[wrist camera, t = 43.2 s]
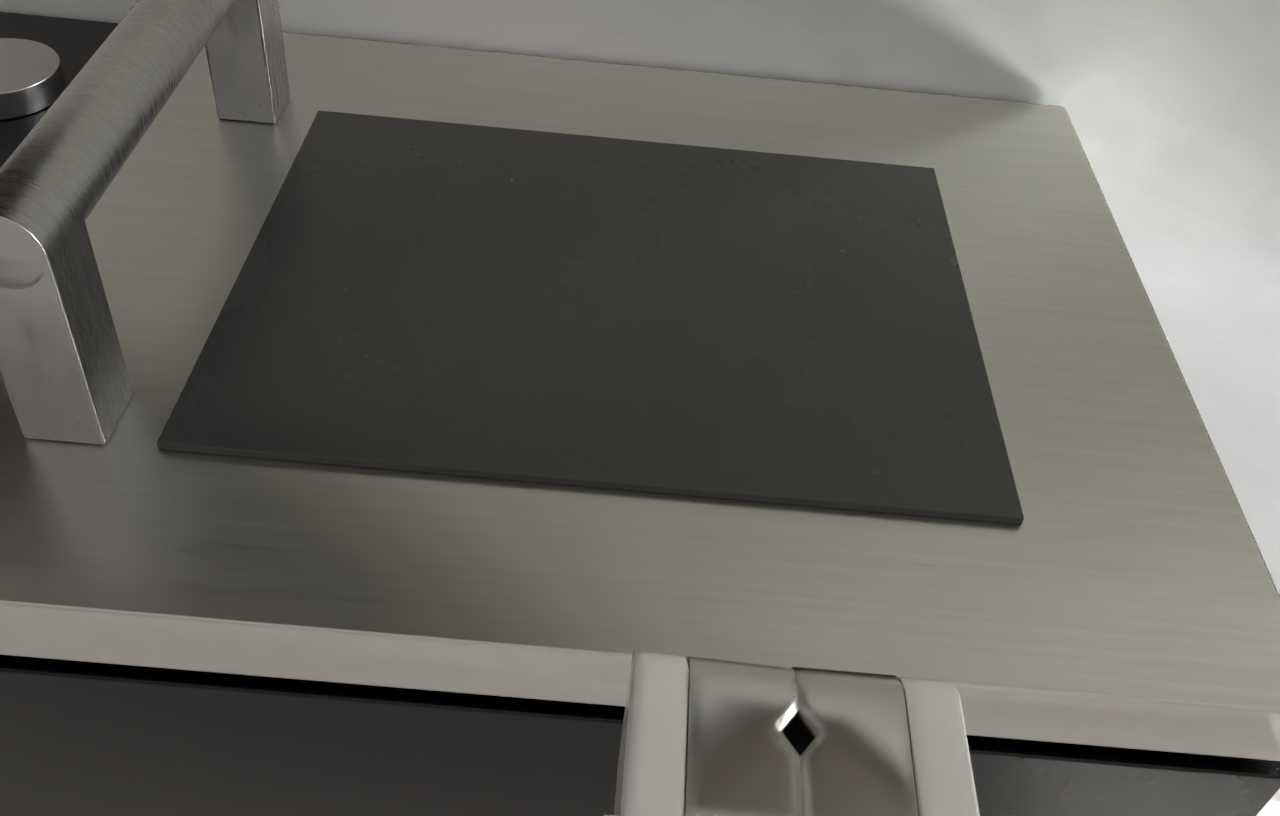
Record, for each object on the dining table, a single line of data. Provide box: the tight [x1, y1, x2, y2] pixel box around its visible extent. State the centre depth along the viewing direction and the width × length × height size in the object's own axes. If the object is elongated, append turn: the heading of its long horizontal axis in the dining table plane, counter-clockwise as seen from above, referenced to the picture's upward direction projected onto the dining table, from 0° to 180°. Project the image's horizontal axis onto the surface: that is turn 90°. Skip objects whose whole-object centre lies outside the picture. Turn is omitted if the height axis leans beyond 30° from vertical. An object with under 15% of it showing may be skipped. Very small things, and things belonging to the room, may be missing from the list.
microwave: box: [0, 12, 1280, 816], centre depth 38 cm, size 28×34×22 cm
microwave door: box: [0, 0, 1280, 761], centre depth 27 cm, size 7×27×22 cm, turn 85°
